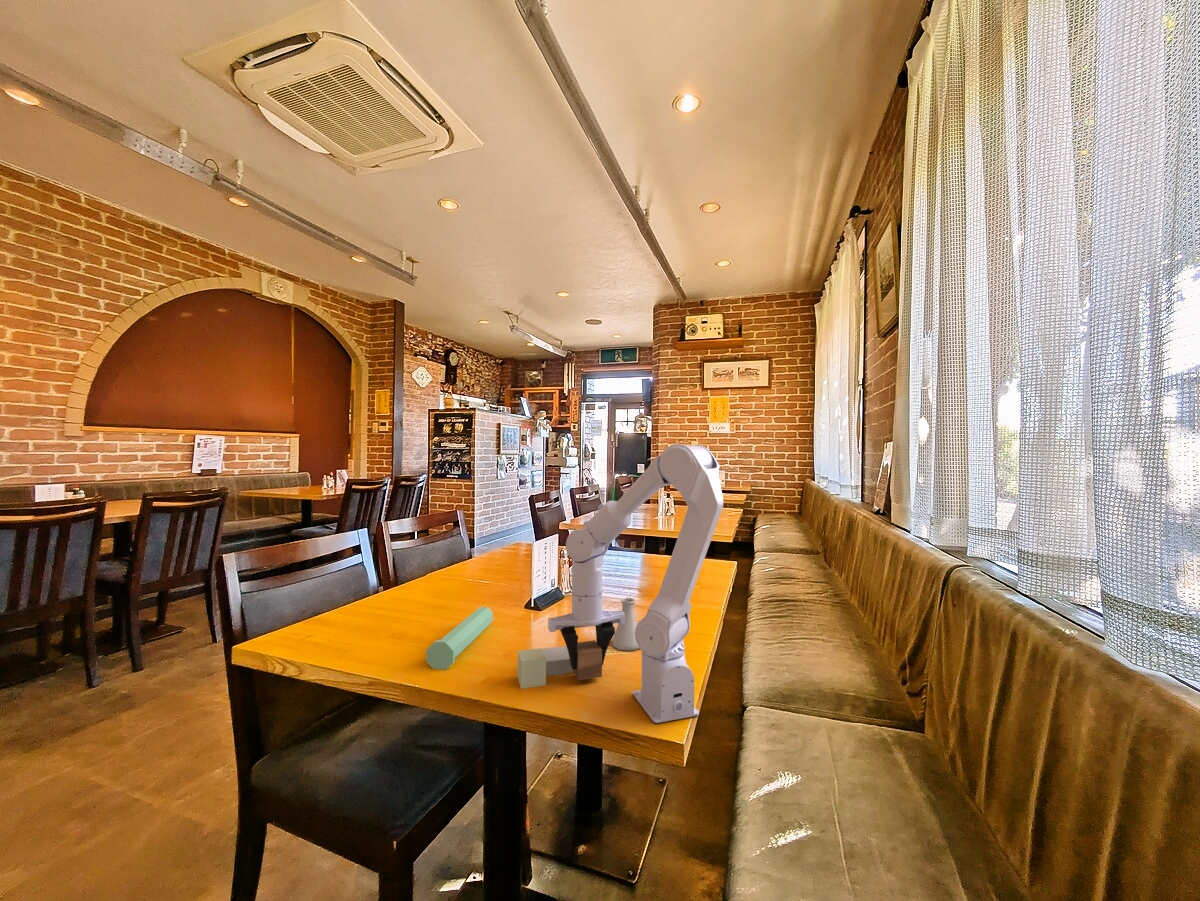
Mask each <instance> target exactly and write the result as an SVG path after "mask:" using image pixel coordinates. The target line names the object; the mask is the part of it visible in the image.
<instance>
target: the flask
mask: <svg viewBox="0 0 1200 901" xmlns="http://www.w3.org/2000/svg"><path fill="white" fill-rule="evenodd" d="M620 601H621V604H622V606H621V611H622V612H623V613H625V624H619V623H617V627H616V628H615V634H614V636H613V637H612V639H611V640H612V641H611V646H612V647H614V648H615V649H617V650H619V651H636V650H639V649H640V648H639V646H638V644H637V642H636V639H635V629H636V626H637V624H638V622H637V619H636V616H635V615H636V614H635V604H636V599H635V598H633V597H621V600H620ZM640 650H641V649H640Z"/></svg>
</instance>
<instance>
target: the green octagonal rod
mask: <svg viewBox="0 0 1200 901" xmlns="http://www.w3.org/2000/svg"><path fill="white" fill-rule="evenodd" d="M493 621H494V612H493V611H492V610H491V609H490V607H487V606H479V607H478V608H477V609H476V610H474V612H472V613H471V614H469V616H468V617H466V618H465V619H464V620H463V621H461V622H460V623H459V624H458V625H457V626H455V627H454V628H453V629H452V630H450V631H449V632H448V633H447V634H446V635H444V636H443V637H442V638H441V639H438V640H437V639H436V640H435V641H434V642H433V643H431V644H430V645H429V647H427V649H426V659H425V660H426V661H425V662H426V663H427V664H428V665H429V666H430V667H431V669H433V670H442V671H443V670H445V671H446V670H448V668H450V666H452V665H453V664H454V663H455V661H456V658H457V657H458V656H460V654H461V653H462V652H463V651H464V650H465V649H466V648H467V647H468V646H469V645H470V644H472V642H473V641H474V640H475V639H476V638H477V637H478V636H479V635H480V634H482V632H483V631H484V630H485V629H487V627H488V626H489V625H491V624H492V623H493Z"/></svg>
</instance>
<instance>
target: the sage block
mask: <svg viewBox="0 0 1200 901" xmlns="http://www.w3.org/2000/svg"><path fill="white" fill-rule="evenodd" d="M542 649H543V648H542V647H539V648H531V649H522V650H517V680H518V683H519V686H520V689H528V688H529V687H530V688H535V687H541V686H542V687H543V686H546V685H547V683H546V682H547V676H546V657H545V654H544V652H543V650H542Z"/></svg>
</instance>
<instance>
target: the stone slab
mask: <svg viewBox="0 0 1200 901" xmlns="http://www.w3.org/2000/svg"><path fill="white" fill-rule="evenodd" d="M542 650H543V652H544V654H545V657H546V677H548V676H558V675H566V674H573V673H574V672H573V670H572V667H571V665H570V657H569V653H568V649H567V646H566V645H564V646H555V647H554V646H553V647H546V648H542ZM574 674H575V673H574Z"/></svg>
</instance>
